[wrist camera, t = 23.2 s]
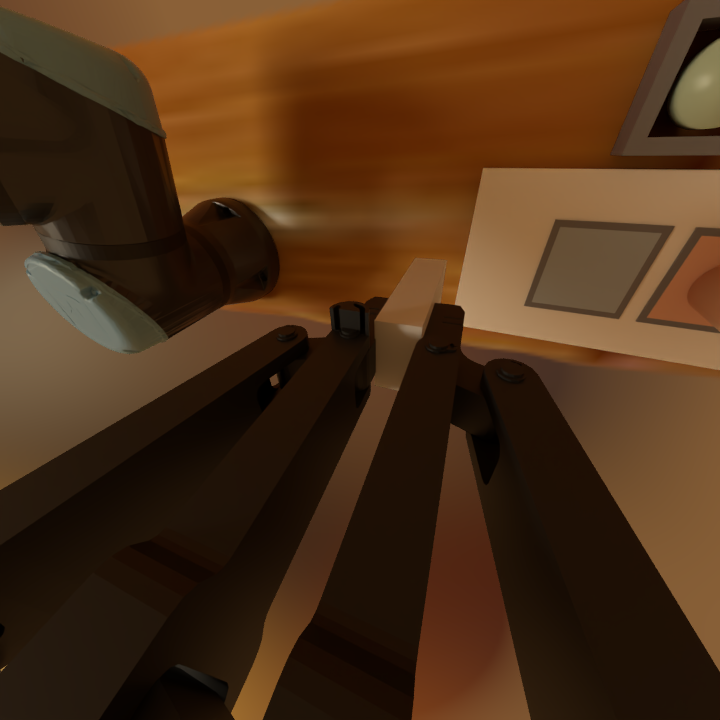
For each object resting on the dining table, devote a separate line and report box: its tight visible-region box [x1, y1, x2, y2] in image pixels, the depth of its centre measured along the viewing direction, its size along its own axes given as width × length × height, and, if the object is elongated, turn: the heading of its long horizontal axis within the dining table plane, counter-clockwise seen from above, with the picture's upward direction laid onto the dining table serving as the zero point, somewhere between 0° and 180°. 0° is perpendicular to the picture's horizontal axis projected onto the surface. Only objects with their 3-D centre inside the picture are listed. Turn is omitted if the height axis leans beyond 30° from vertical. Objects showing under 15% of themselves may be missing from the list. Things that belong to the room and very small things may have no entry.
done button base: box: [610, 0, 720, 156], centre depth 20 cm, size 8×8×3 cm
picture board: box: [455, 168, 720, 370], centre depth 28 cm, size 28×17×1 cm, turn 91°
